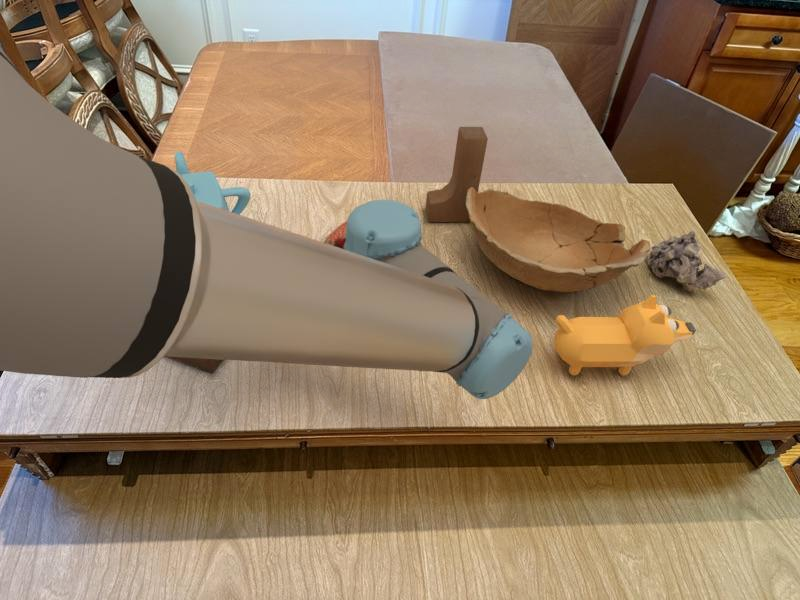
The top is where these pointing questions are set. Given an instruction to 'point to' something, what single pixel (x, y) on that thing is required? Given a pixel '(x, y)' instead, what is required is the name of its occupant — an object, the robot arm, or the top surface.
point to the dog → (619, 337)
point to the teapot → (211, 187)
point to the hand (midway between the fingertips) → (158, 253)
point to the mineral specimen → (683, 263)
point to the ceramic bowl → (549, 242)
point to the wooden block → (459, 178)
